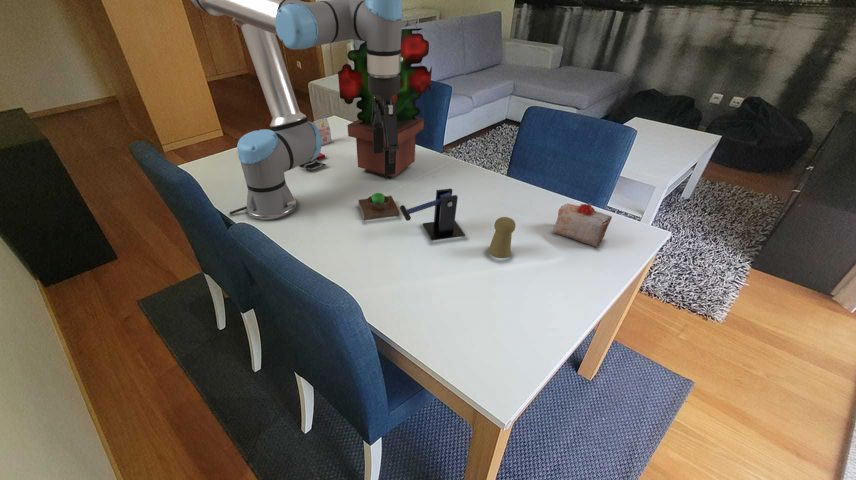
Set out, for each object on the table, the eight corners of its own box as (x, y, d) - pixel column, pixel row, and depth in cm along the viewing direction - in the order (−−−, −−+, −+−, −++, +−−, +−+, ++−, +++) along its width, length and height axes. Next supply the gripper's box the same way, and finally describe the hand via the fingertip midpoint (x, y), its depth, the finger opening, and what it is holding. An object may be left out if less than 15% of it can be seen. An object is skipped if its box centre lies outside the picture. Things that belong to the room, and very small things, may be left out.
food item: (548, 233, 112) (557, 203, 106) (558, 222, 117) (567, 193, 110) (596, 250, 106) (609, 219, 99) (605, 238, 110) (618, 207, 104)
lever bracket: (431, 243, 109) (434, 203, 101) (422, 226, 116) (424, 187, 107) (464, 238, 111) (470, 198, 102) (453, 222, 117) (458, 183, 109)
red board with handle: (303, 174, 143) (336, 163, 151) (302, 167, 141) (335, 156, 149) (264, 152, 160) (295, 144, 168) (262, 146, 158) (294, 137, 166)
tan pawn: (505, 264, 101) (514, 228, 94) (483, 256, 104) (490, 221, 97) (512, 252, 105) (521, 217, 98) (491, 245, 108) (498, 211, 101)
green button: (373, 204, 118) (372, 199, 117) (370, 198, 121) (370, 193, 120) (385, 203, 118) (385, 198, 117) (382, 197, 121) (382, 192, 120)
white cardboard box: (313, 143, 167) (310, 120, 161) (326, 140, 170) (324, 116, 164) (318, 146, 165) (315, 122, 158) (331, 142, 168) (329, 118, 162)
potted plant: (425, 165, 149) (434, 27, 120) (396, 187, 135) (397, 37, 106) (378, 153, 158) (375, 23, 129) (346, 173, 144) (334, 31, 115)
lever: (406, 222, 104) (404, 215, 103) (400, 211, 109) (398, 204, 107) (455, 206, 105) (454, 199, 103) (447, 196, 109) (446, 188, 107)
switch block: (364, 222, 118) (363, 210, 115) (358, 207, 125) (357, 194, 122) (399, 218, 119) (399, 205, 116) (391, 203, 127) (391, 190, 124)
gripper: (415, 88, 79) (410, 182, 93) (387, 61, 98) (386, 143, 112) (379, 90, 78) (380, 185, 92) (358, 62, 96) (361, 146, 110)
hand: (383, 163), depth 102 cm, fingers open, 13 cm apart
